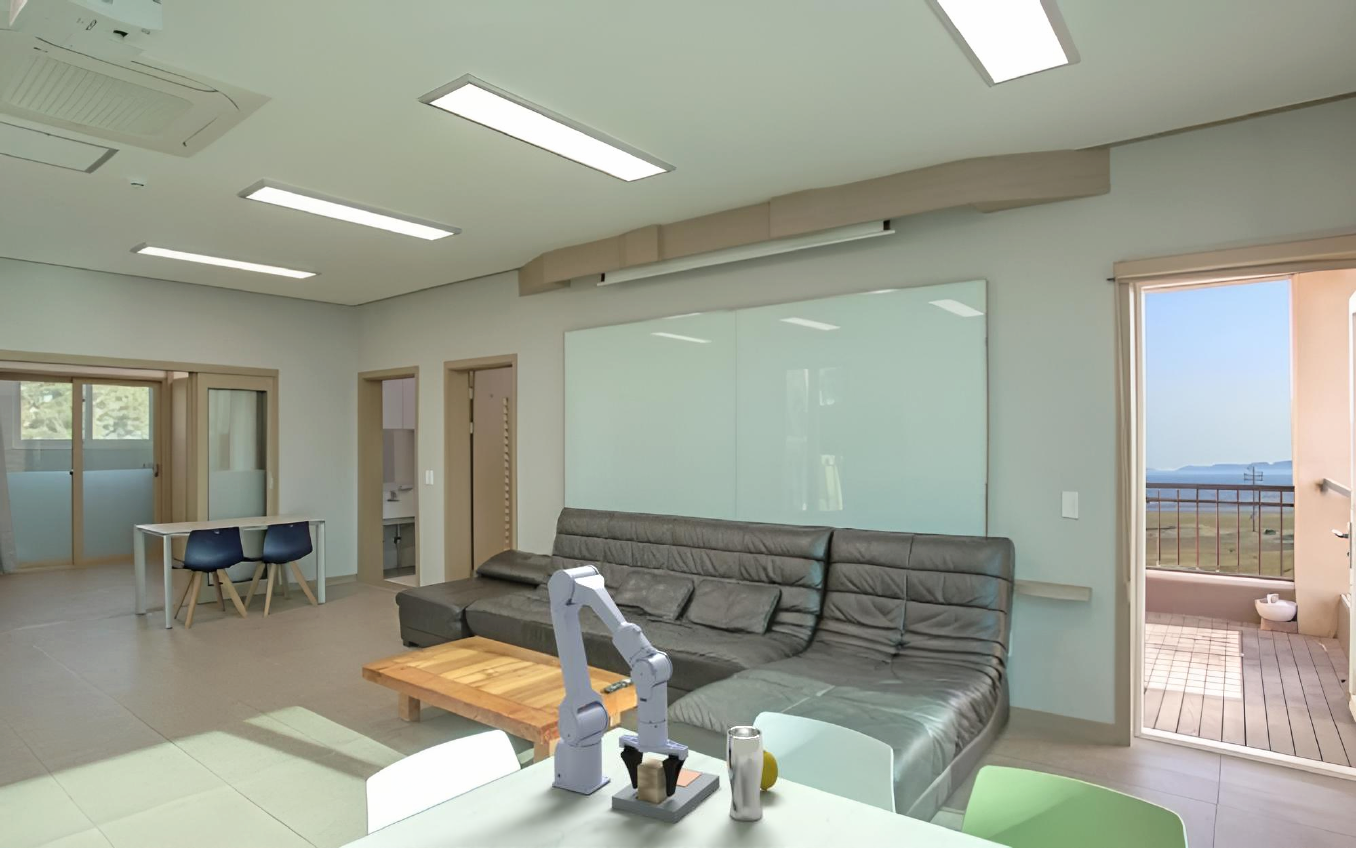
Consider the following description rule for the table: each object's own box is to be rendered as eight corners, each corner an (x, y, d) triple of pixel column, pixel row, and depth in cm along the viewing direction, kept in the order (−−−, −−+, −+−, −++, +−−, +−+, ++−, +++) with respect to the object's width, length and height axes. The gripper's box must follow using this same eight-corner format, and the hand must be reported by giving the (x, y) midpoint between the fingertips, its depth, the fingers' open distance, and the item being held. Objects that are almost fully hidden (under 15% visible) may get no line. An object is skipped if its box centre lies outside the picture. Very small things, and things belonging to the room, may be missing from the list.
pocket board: (611, 807, 145) (611, 795, 145) (660, 773, 160) (660, 762, 160) (675, 823, 138) (674, 810, 138) (719, 786, 153) (719, 774, 153)
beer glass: (768, 808, 143) (766, 727, 144) (760, 825, 136) (758, 740, 137) (732, 803, 145) (731, 724, 146) (723, 820, 139) (721, 736, 139)
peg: (638, 809, 144) (637, 766, 144) (650, 799, 148) (649, 758, 148) (657, 813, 142) (657, 770, 142) (669, 804, 145) (669, 762, 146)
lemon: (777, 798, 147) (776, 756, 148) (749, 796, 148) (748, 754, 149) (779, 786, 153) (778, 745, 153) (752, 784, 154) (751, 744, 154)
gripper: (609, 719, 146) (610, 791, 145) (674, 731, 138) (676, 807, 138) (629, 708, 152) (630, 777, 151) (693, 719, 145) (694, 792, 144)
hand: (653, 791), depth 145 cm, fingers open, 7 cm apart
